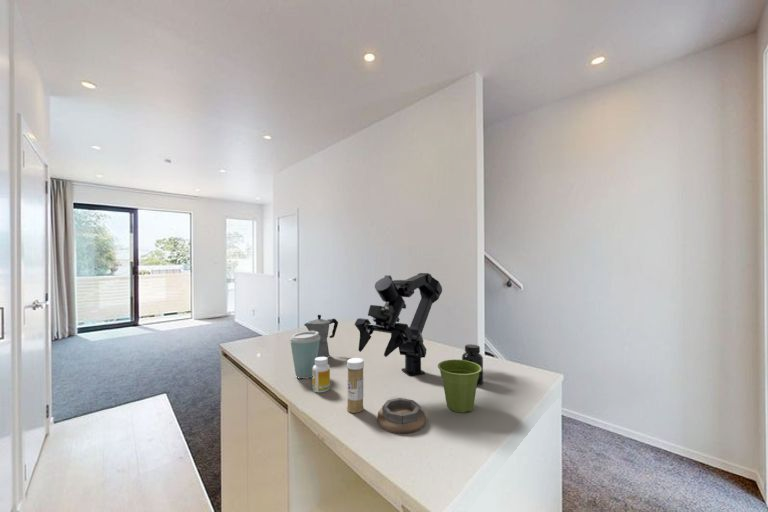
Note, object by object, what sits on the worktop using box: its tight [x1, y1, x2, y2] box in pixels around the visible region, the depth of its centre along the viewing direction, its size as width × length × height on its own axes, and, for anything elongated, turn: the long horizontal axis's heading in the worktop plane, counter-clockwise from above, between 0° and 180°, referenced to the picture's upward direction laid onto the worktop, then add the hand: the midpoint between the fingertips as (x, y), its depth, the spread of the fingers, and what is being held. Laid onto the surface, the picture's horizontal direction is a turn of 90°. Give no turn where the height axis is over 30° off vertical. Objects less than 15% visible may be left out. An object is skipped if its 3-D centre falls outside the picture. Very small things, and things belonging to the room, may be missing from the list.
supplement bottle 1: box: [311, 357, 331, 393], centre depth 96 cm, size 5×5×10 cm
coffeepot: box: [303, 314, 339, 357], centre depth 129 cm, size 15×9×18 cm, turn 125°
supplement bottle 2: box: [461, 344, 484, 386], centre depth 101 cm, size 7×7×12 cm
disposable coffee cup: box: [289, 330, 321, 379], centre depth 107 cm, size 11×11×15 cm
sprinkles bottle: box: [346, 357, 365, 414], centre depth 82 cm, size 5×5×14 cm
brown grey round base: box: [377, 397, 426, 435], centre depth 76 cm, size 12×12×4 cm
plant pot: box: [437, 359, 482, 414], centre depth 84 cm, size 12×12×11 cm
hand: (371, 353), depth 89 cm, fingers open, 9 cm apart
